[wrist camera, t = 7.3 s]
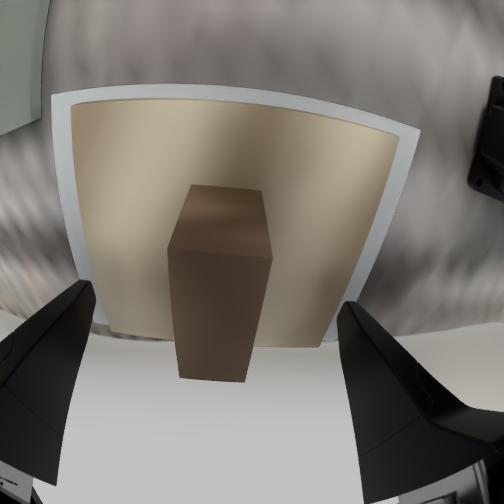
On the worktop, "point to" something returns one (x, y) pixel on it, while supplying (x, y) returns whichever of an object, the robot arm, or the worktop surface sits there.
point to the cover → (224, 221)
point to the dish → (21, 61)
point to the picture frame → (217, 92)
